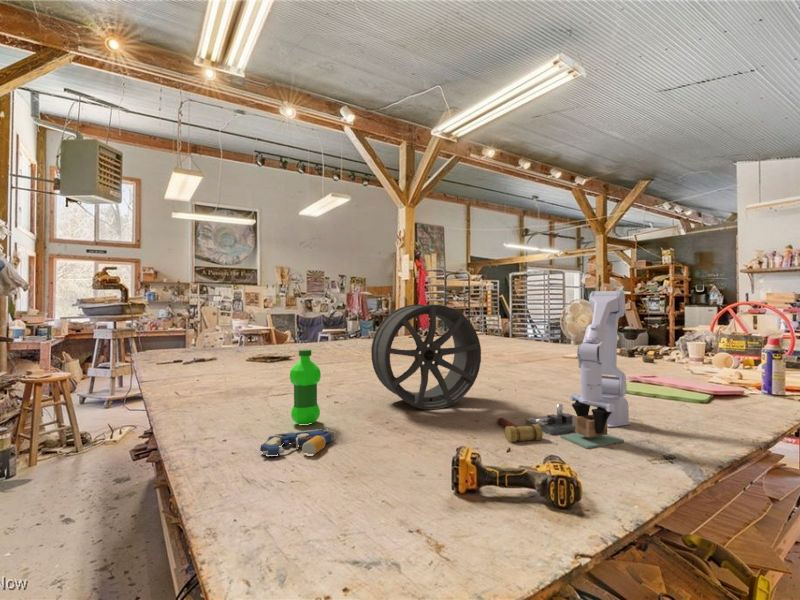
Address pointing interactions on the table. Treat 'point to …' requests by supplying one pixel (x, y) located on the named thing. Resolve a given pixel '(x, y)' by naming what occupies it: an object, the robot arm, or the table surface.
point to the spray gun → (298, 441)
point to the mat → (591, 440)
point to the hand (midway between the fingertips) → (591, 430)
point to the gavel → (520, 431)
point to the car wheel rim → (429, 356)
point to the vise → (554, 422)
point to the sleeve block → (587, 426)
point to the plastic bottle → (305, 389)
